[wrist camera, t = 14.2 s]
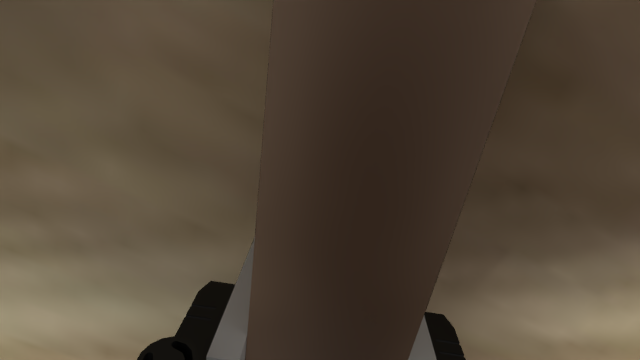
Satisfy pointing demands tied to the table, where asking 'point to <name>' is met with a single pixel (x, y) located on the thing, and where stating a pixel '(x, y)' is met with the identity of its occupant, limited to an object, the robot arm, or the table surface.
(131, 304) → the table surface
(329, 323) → the brown and grey bar
